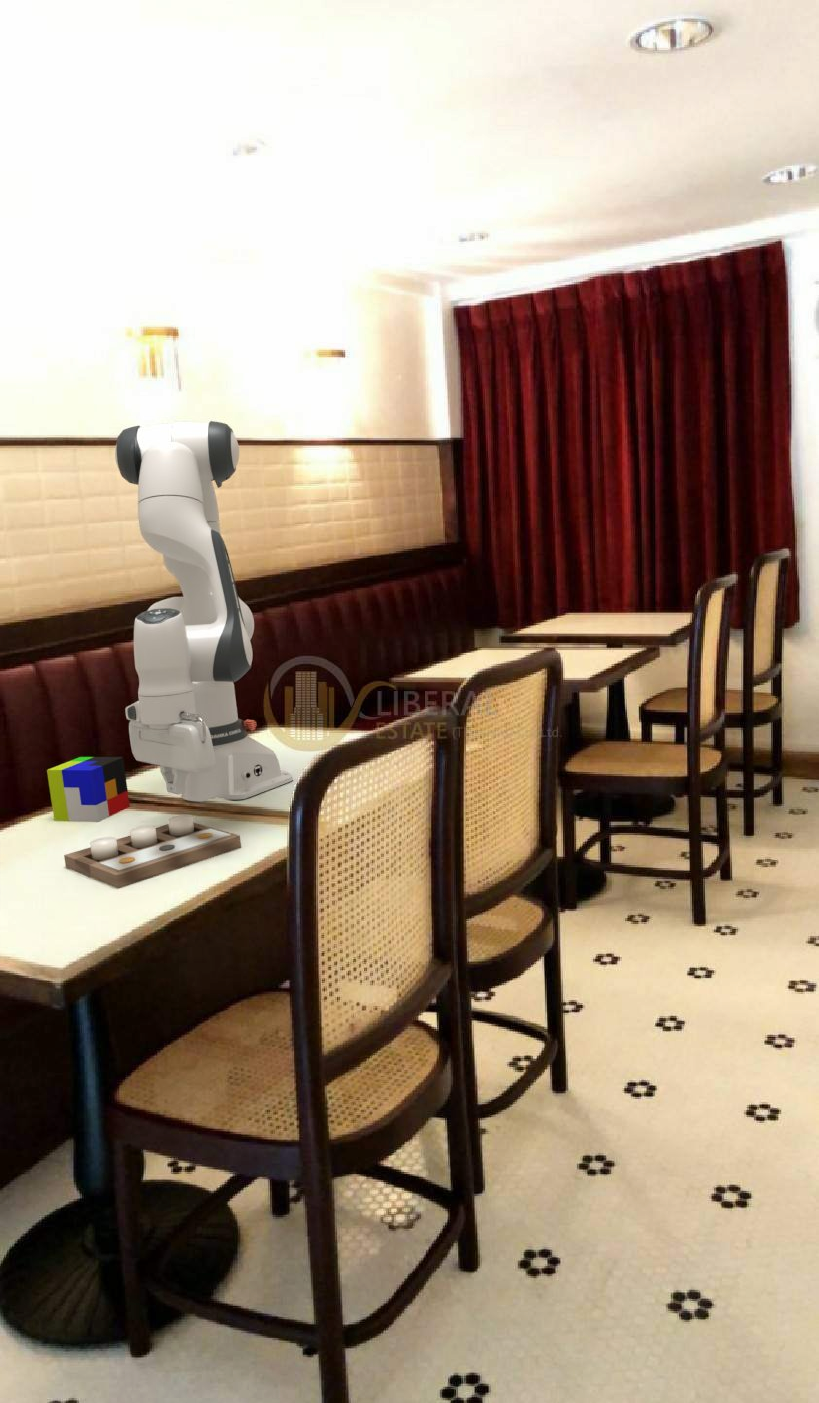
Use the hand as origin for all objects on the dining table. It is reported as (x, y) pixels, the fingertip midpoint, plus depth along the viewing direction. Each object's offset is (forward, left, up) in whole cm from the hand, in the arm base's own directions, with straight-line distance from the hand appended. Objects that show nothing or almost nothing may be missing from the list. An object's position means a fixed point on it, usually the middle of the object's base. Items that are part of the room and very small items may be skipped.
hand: (176, 792), depth 179 cm
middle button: (+7, 0, -7) cm, 10 cm away
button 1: (+14, 0, -7) cm, 15 cm away
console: (+7, +2, -10) cm, 12 cm away
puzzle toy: (-2, -36, -10) cm, 38 cm away
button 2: (0, 0, -7) cm, 7 cm away
